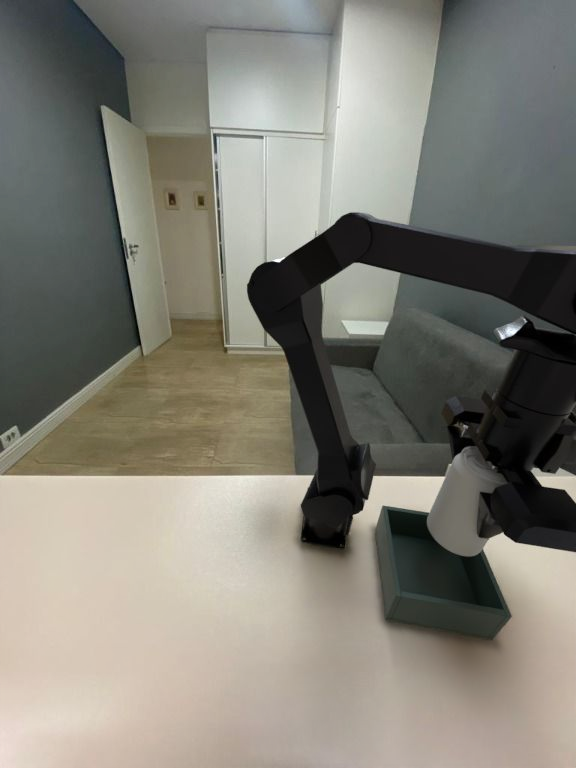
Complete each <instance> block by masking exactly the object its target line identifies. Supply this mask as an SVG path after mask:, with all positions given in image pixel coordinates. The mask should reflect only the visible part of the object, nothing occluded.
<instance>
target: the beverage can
mask: <svg viewBox="0 0 576 768" xmlns="http://www.w3.org/2000/svg"><path fill="white" fill-rule="evenodd" d="M506 483H507V481H506V480H505V478H504V476H503V475H502V473H501V472H500V470H496V469H493V468H492V467H491V466H490V464H489V463H488V461H485V460H484V458H483V456H482V455H481V453H480V451H479V450H478V448H477V446H469V447H466V448H464V449H463V450H462V451H461V453H460V454H458V455H456V456H455V457H454V460H453V461H452V462H451V464H450V466H449V468H448V471H447V473H446V476H445V477H444V480H443V481H442V484H441V486H440V488H439V491H438V493H437V495H436V496H435V497H436V498H435V499H434V502H433V504H432V507H431V508H430V510H429V512H428V513H429V515H428V517H427V526H428V529H429V531H430V533H431V535H432V536H433V538H434V539H435V540H436V541H437V542H438V543H439V544H440V545H441V546H443V547H444V548H445V549H447V550H449V551H450V552H452V553H455V554H458V555H461V556H475V555H477V554H479V553H480V552H481V551H482V549H483V550H484V548H485V546H486V544H487V543H488V541H489V540H490V538H489V539H485V538H480V537H478V535H477V518H478V506H479V493H480V492H486V493H493V491H494V489H495V488H496V487H498V486H501V485H504V484H506Z"/></svg>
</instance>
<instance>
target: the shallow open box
mask: <svg viewBox="0 0 576 768" xmlns="http://www.w3.org/2000/svg"><path fill="white" fill-rule="evenodd" d="M429 513H430V512H427V511H423V510H422V511H421V510H415V509H410V508H409V509H408V508H402V507H395V506H390V505H382V506H381V509H380V513H379V515H378V519H377V523H376V525H375V528H374V531H375V532H374V533H375V540H376V548H377V549H376V550H377V557H378V564H379V565H378V567H379V575H380V583H381V592H382V593H381V595H382V601H383V602H382V603H383V611H384V619H385V621H390V622H394V623H395V622H396V623H400V624H405V625H409V626H410V625H411V626H416V627H421V628H427V629H433V630H438V631H441V632H442V631H443V632H448V633H453V634H458V635H463V636H467V637H473V638H479V639H483V640H488V641H493V640H494V639H495V638H496V637H497V636H498V635H499V634H500V633H501V631H502V630H503V629H504V627H505V626H506V625H507V624H508V622H510V620H511V619H512V618H513V615H512V613H511V611H510V608H509V606H508V604H507V601H506V599H505V596H504V595H503V592H502V589H501V588H500V585H499V583H498V580H497V578H496V576H495V574H494V573H495V572H494V571H493V568H492V567H491V564H490V562H489V559H488V557H487V554H486V552H485V550H484V548H483V549H482V551H481V552H480V553H479V554H477V555H475V556H461V555H458V554H455V553H452V552H450V551H449V550H447V549H445V548H444V547H443V546H441V545H440V544H439V543H438V542H437V541H436V540H435V539H434V538H433V536H432V535H431V533H430V531H429V529H428V526H427V517H428V515H429Z"/></svg>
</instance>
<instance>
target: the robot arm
mask: <svg viewBox="0 0 576 768" xmlns="http://www.w3.org/2000/svg"><path fill="white" fill-rule="evenodd" d="M354 264H361V265H366V266H370V267H375V268H379V269H381V270H386V271H391V272H393V273H394V272H395V273H400V274H403V275H407V276H411V277H415V278H419V279H423V280H426V281H427V280H428V281H431V282H435V283H436V282H437V283H440V284H443V285H447V286H452V287H455V288H460V289H465V290H468V291H472V292H477V293H481V294H485V295H489V296H492V297H494V298H496V299H498V300H501V301H503V302H505V303H508V304H509V305H512V307H515V308H517V309H519V310H521V311H523V312H525V313H527V314H529V315H531V316H532V317H534V318H537V319H539V320H541V321H543V322H545V323H548V324H550V325H553V326H554V327H557V328H560V329H562V330H564V331H562V330H561V331H560V330H554V329H549V328H543V327H535V325H534V322H533V321H532V320H531V319H530V318H529V316H527V315H521V316H519V317H518V318H516V319H515V320H514V321H512V322H509V323H506V324H504V325H502V326H498V327H496V328H495V329H494V330H493V335H494V337H495V338H496V340H497V343H498V344H499V346H500V347H501V348H504V349H510V350H513V352H512V354H511V356H510V358H509V360H508V362H507V365H506V367H505V369H504V370H503V373H502V375H501V377H500V380H499V381H498V384H497V385H496V388H495V390H487V389H484V391H483V393H482V395H481V396H480V397H481V398H475V397H474V398H473V397H468V396H467V397H465V396H458V395H455V396H453V397H451V398H449V399H447V400H445V402H444V405H443V407H442V410H441V415H442V418H443V420H444V421H445V423H446V425H447V426H446V432H447V436H448V441H449V448H450V453H451V460H452V462H453V460H454V457H455V456H456V455H458V454H460V453H461V451H462V450H463V449H464V448H466V447H469V446H477V448H478V450H479V451H480V453H481V455H482V456H483V458H484V460H485V461H488V463H489V464H490V466H491V467H492V468H493V469H496V470H500V472H501V473H502V475H503V476H504V478H505V480H506V481H507V483H506V484H504V485H501V486H498V487H496V488H495V489H494V491H493V493H486V492H480V493H479V506H478V518H477V535H478V537H480V538H485V539H489V540H490V539H492V538H494V537H496V536H498V535H500V534H503V535H504V536H505V537H507V539H510V540H511V541H512V542H514V543H516V544H520V545H521V544H522V545H528V546H535V547H540V548H545V549H553V550H558V551H563V552H564V551H565V552H571V553H576V502H575V500H574V499H573V498H572V497H571V495H570V494H569V493H568V491H566V489H563V488H556V487H549V486H543V484H541V482H540V481H539V480H538V479H537V477H536V476H535V475H534V473H533V469H539V471H540V472H541V473H547V474H553V475H557V474H556V473H558V471H559V469H561V470H563V471H565V472H567V473H569V474H571V475H573V476H576V413H575V412H574V411H573V409H574V408H575V407H576V245H552V244H551V245H548V244H547V245H545V244H544V245H543V244H542V245H541V244H540V245H538V244H537V245H535V244H534V245H522V244H521V245H518V244H515V245H514V244H502V243H498V242H493V241H488V240H482V239H478V238H474V237H469V236H464V235H460V234H454V233H449V232H444V231H438V230H435V229H430V228H424V227H420V226H415V225H410V224H407V223H406V224H404V223H401V222H396V221H391V220H385V219H380V218H376V217H375V216H373V215H372V214H370V213H367V212H358V211H357V212H355V211H354V212H353V211H352V212H351V211H350V212H348V213H345V214H343V215H341V216H340V217H339V218H337V220H336V221H335V222H334V224H332V225H331V226H329V227H328V228H327V229H326V230H324V231H323V232H322V233H320V234H318V235H317V236H315V237H313V238H312V239H311V240H309V241H307V242H306V243H305V244H302V245H301V246H300V247H298V248H297V249H295V250H294V251H292V252H291V253H289V254H288V255H287V256H284V257H279V258H275V259H272V260H269V261H265V262H262V263H260V264H259V265H257V266H256V268H254V270H253V271H252V272H251V275H250V278H249V279H248V282H247V284H246V292H247V293H246V294H247V298H248V301H249V303H250V306H251V308H252V310H253V312H254V313H255V315H256V318H257V319H258V321H259V323H260V325H261V327H262V328H263V331H264V332H266V333H267V335H268V336H269V337H271V339H273V340H274V342H275V343H277V344H278V346H279V347H280V348H281V349H282V351H283V353H284V356H285V359H286V362H287V365H288V369H289V371H290V374H291V377H292V380H293V383H294V386H295V389H296V392H297V396H298V398H299V400H300V403H301V406H302V410H303V412H304V415H305V419H306V422H307V424H308V428H309V431H310V433H311V436H312V439H313V442H314V446H315V448H316V451H317V468H316V471H315V472H314V475H313V477H312V479H311V481H310V483H309V486H308V487H307V490H306V492H305V494H304V497H303V499H302V501H301V503H300V509H301V511H302V512H301V513H302V515H303V516H302V523H301V532H300V542H301V543H303V544H308V545H314V546H320V547H325V548H332V549H337V550H344V549H345V548H346V544H347V541H346V539H347V538H346V537H348V536H350V532H351V528H352V524H353V520H354V515H357V514H360V513H361V512H363V511H364V508H365V504H366V501H368V500H369V497H370V493H371V489H372V484H373V479H374V476H375V471H376V467H377V463H376V462H375V461H374V459H373V458H372V454H371V445H370V443H369V442H365V443H359V442H357V441H356V440H355V439H354V438H353V436H352V434H351V431H350V427H349V424H348V421H347V417H346V414H345V411H344V407H343V403H342V400H341V396H340V394H339V390H338V387H337V383H336V380H335V376H334V372H333V369H332V365H331V362H330V358H329V356H328V352H327V348H326V345H325V341H324V337H323V331H322V329H323V313H324V312H323V311H324V303H323V293H322V292H323V291H322V285H323V284H324V283H325V282H327V281H329V280H330V279H332V278H333V277H336V276H337V275H338V274H340V273H342V272H343V271H344V270H346V269H347V268H349V267H350V266H351V265H354Z"/></svg>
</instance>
